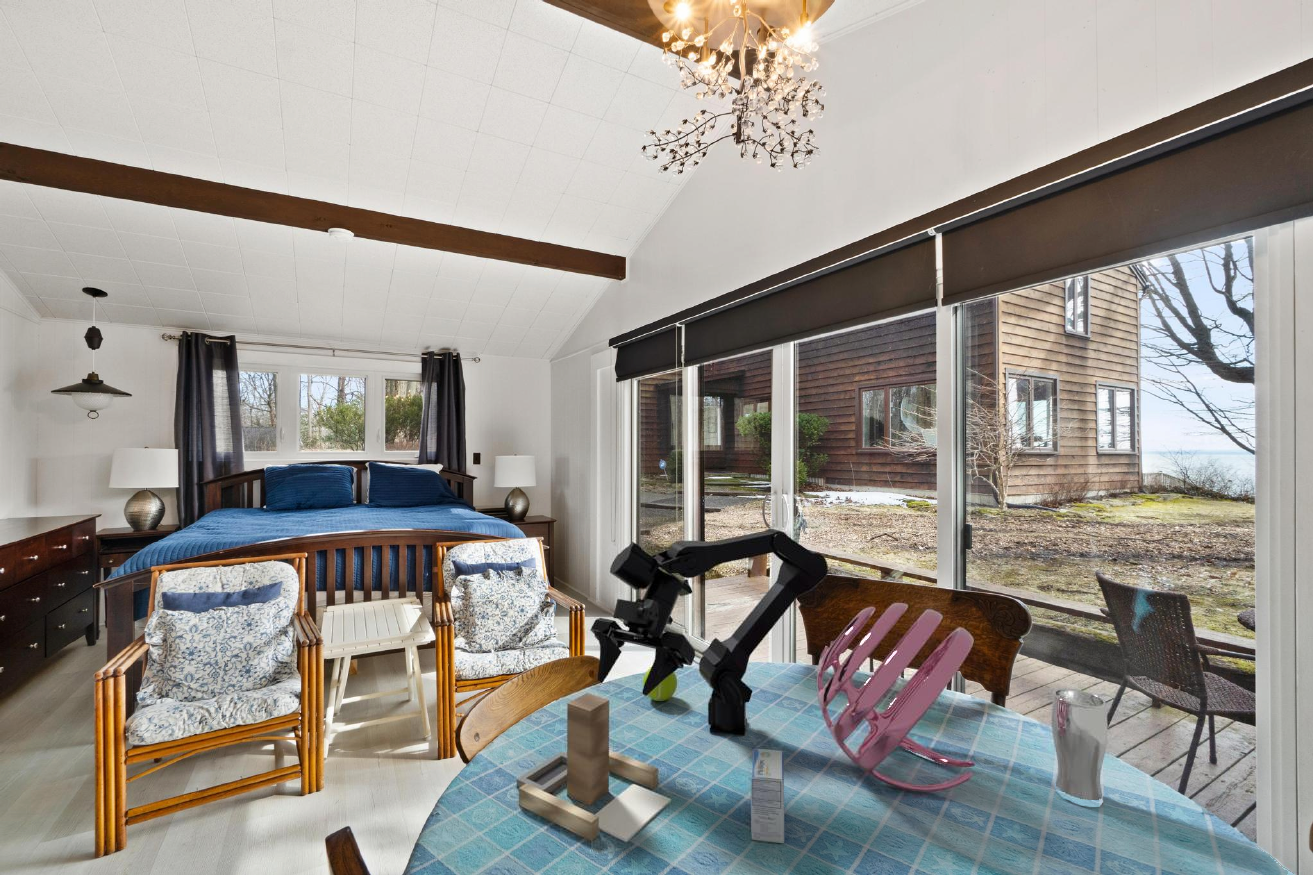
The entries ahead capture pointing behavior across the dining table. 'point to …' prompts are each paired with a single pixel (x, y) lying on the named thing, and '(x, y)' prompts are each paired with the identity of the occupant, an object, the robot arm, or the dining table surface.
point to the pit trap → (547, 774)
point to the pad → (630, 812)
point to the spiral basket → (907, 704)
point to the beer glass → (1079, 741)
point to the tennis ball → (663, 687)
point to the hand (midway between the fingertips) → (621, 688)
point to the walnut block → (587, 748)
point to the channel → (576, 816)
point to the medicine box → (767, 796)
